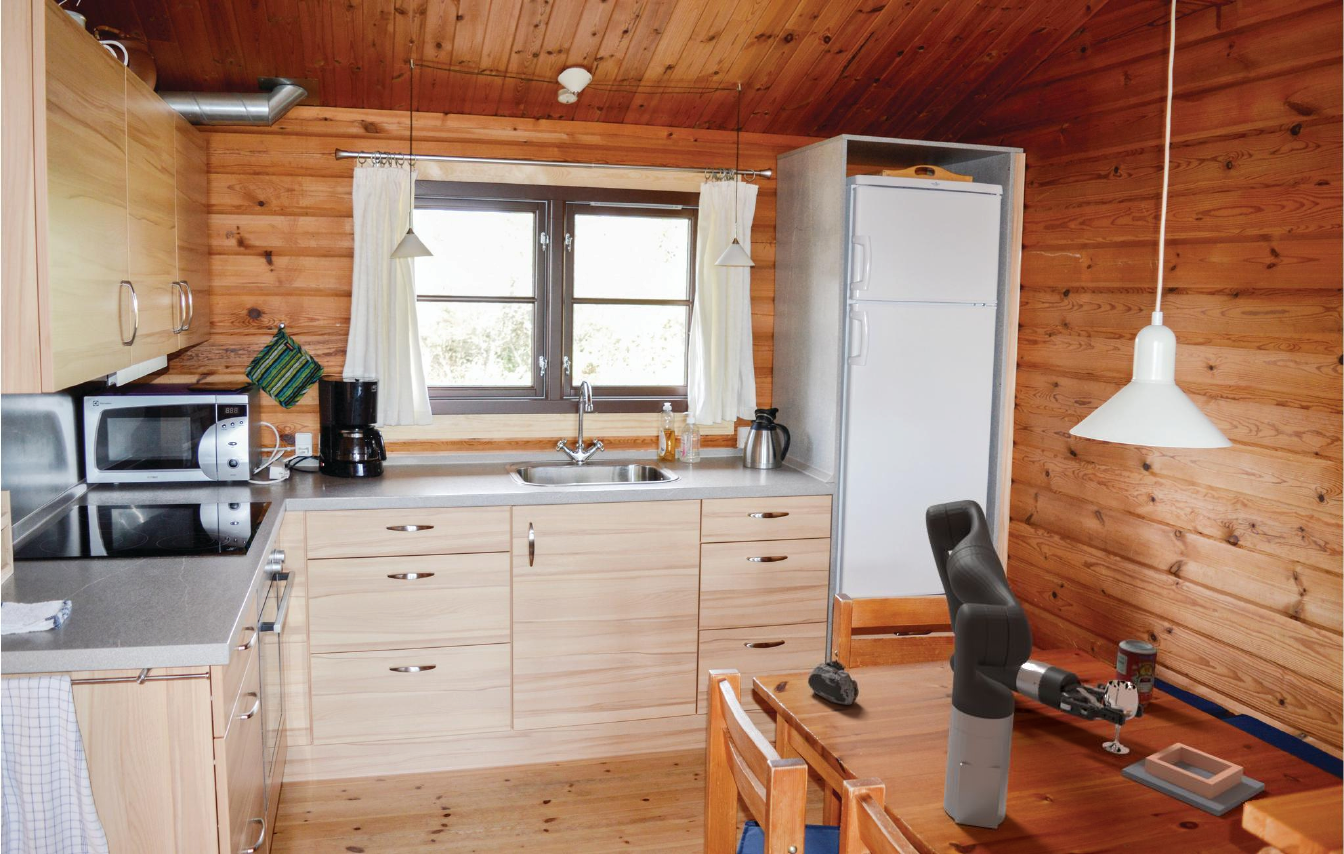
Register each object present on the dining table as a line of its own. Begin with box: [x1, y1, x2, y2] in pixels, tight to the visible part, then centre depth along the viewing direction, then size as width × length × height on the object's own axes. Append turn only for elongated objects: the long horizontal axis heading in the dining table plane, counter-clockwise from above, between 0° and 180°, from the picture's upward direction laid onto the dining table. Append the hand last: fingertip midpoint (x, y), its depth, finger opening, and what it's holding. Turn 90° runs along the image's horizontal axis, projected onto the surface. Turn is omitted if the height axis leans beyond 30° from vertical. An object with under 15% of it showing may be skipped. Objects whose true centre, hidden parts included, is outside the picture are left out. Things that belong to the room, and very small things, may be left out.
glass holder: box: [1121, 742, 1266, 817], centre depth 165 cm, size 16×16×4 cm
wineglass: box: [1102, 679, 1138, 755], centre depth 177 cm, size 6×6×12 cm
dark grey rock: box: [807, 659, 860, 705], centre depth 196 cm, size 12×7×10 cm
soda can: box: [1114, 638, 1158, 708], centre depth 198 cm, size 7×7×12 cm
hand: (1133, 715), depth 174 cm, fingers closed on wineglass, 5 cm apart
